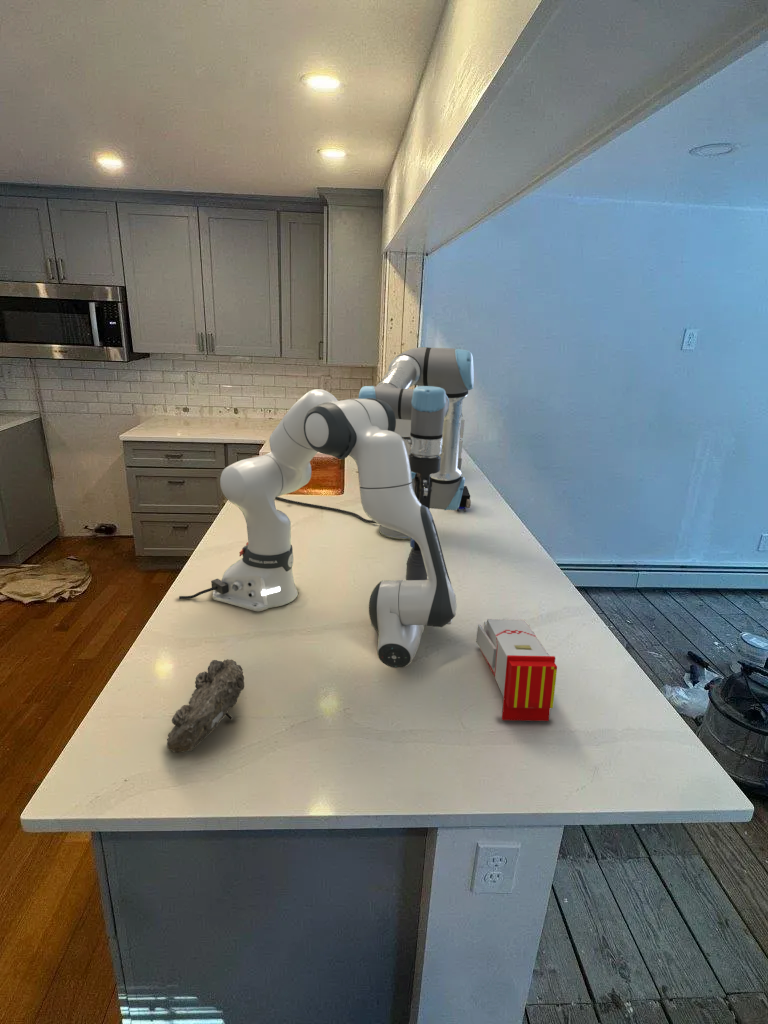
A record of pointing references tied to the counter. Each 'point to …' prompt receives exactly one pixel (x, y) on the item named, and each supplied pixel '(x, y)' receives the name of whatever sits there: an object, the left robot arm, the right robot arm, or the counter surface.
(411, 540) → the cap
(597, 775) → the counter surface
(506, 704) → the toy
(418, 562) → the bottle
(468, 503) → the figurine character
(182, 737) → the fossil
